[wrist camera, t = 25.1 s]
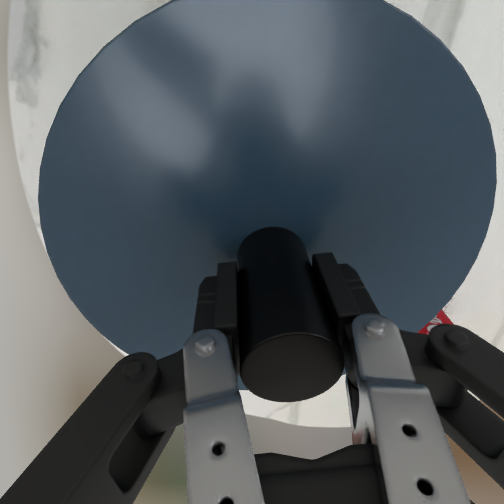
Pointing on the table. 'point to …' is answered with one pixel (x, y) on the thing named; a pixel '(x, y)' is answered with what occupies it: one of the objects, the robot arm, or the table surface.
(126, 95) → the lid
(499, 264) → the table surface
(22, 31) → the table surface
